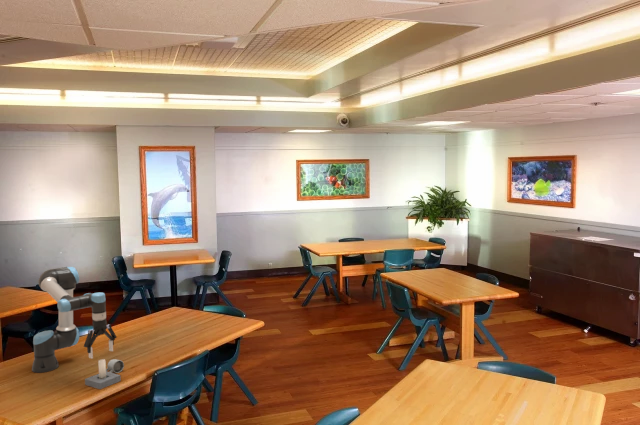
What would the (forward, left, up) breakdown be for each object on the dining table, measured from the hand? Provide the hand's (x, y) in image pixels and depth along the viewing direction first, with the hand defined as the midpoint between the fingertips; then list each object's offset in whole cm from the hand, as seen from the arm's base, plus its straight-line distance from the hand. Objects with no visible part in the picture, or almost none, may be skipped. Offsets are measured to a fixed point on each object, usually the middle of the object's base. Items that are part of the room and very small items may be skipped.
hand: (101, 354), depth 310 cm
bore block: (0, 0, -17) cm, 17 cm away
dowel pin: (0, 0, -16) cm, 16 cm away
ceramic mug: (-9, +14, -18) cm, 24 cm away
